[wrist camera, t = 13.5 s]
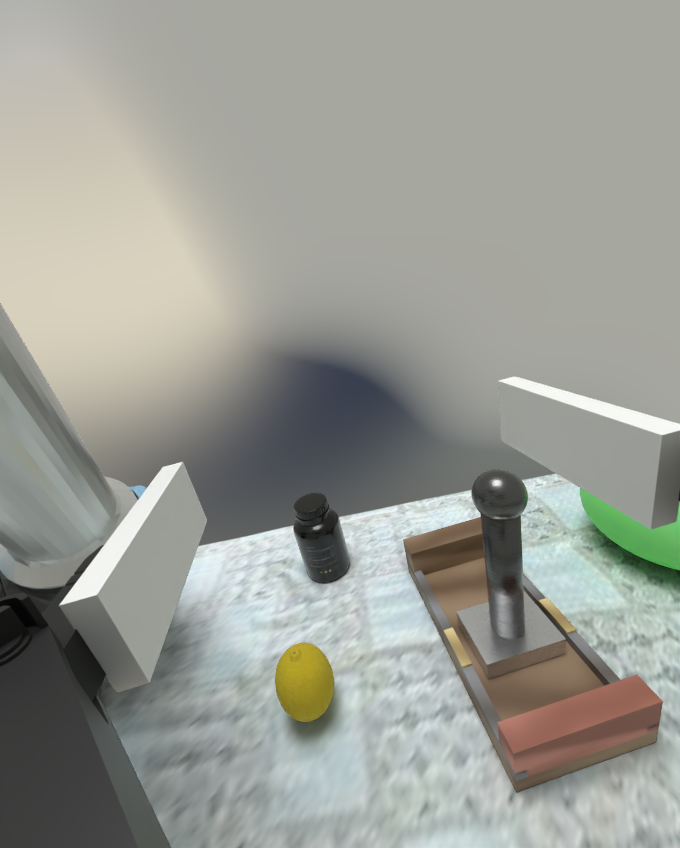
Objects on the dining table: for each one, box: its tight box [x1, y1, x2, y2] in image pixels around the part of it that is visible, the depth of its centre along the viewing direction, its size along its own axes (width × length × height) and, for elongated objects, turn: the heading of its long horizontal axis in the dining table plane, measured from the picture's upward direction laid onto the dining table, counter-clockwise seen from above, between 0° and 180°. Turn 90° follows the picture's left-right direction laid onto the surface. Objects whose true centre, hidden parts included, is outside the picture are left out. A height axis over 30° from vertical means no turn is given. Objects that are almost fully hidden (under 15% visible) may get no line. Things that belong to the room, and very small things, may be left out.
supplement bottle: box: [293, 493, 350, 582], centre depth 51 cm, size 7×7×12 cm
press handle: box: [456, 469, 566, 679], centre depth 32 cm, size 6×8×20 cm
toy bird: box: [580, 488, 680, 570], centre depth 41 cm, size 18×17×15 cm
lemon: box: [275, 643, 334, 722], centre depth 34 cm, size 6×6×8 cm
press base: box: [403, 517, 663, 792], centre depth 37 cm, size 24×12×6 cm, turn 9°
